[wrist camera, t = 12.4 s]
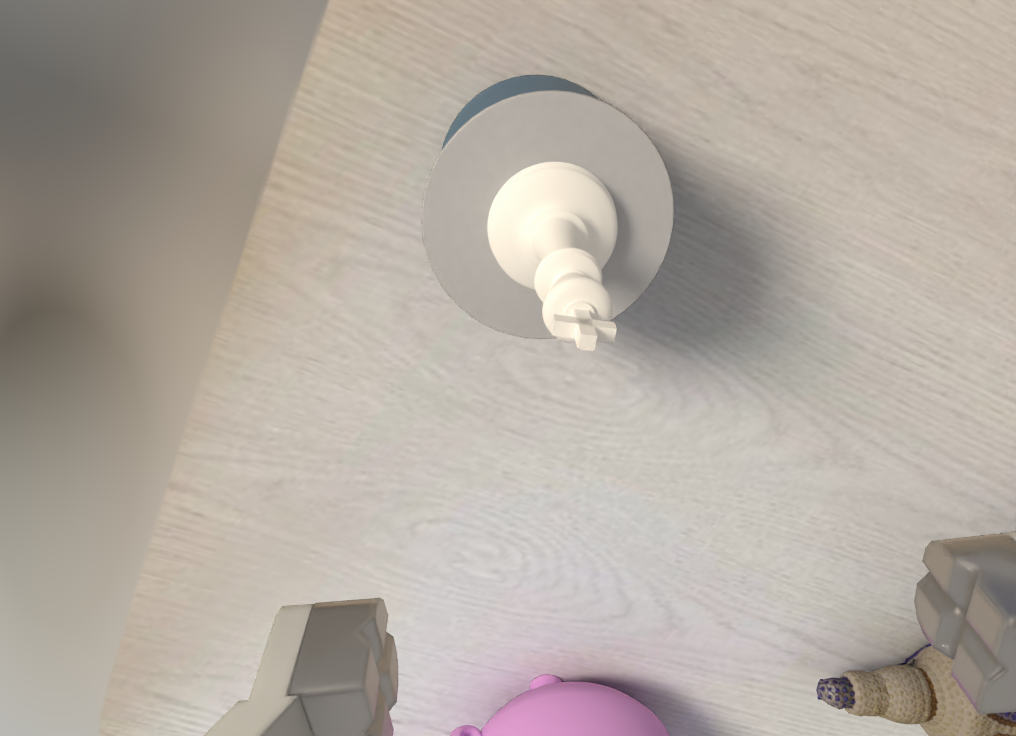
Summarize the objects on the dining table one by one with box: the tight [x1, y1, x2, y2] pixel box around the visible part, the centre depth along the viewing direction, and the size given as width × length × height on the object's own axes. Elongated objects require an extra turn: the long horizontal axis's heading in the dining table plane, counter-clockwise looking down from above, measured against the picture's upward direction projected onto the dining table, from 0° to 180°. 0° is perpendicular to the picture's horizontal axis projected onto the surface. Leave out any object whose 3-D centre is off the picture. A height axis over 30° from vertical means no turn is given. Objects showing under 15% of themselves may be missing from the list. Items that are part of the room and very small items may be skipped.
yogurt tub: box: [421, 75, 674, 339], centre depth 31 cm, size 10×10×8 cm
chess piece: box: [487, 162, 618, 351], centre depth 23 cm, size 5×5×10 cm
